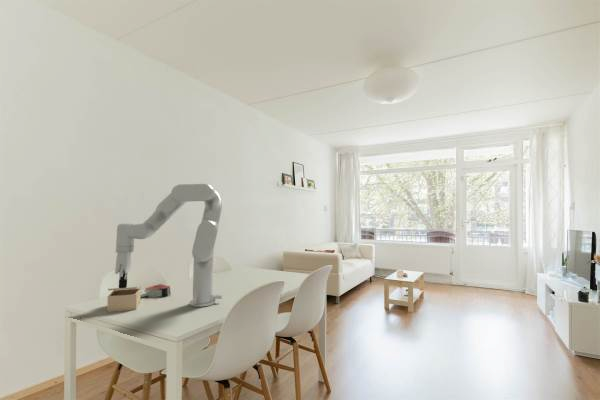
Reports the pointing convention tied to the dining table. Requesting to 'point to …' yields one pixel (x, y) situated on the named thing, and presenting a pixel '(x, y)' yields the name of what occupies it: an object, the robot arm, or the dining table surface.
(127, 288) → the lid
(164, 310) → the dining table surface
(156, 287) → the tape dispenser
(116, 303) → the box
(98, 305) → the dining table surface
